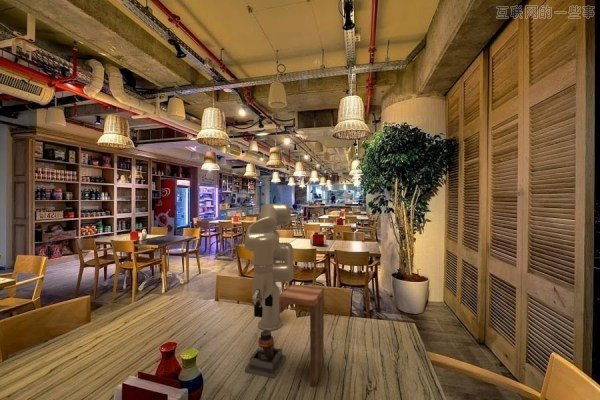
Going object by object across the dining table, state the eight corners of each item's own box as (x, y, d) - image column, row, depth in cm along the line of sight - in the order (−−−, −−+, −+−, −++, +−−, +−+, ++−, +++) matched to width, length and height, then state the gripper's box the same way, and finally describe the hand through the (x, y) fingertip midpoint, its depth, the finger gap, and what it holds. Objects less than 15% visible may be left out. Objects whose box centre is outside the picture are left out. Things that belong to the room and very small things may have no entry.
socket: (259, 354, 113) (259, 343, 113) (286, 359, 109) (286, 348, 109) (244, 371, 101) (244, 360, 101) (274, 378, 98) (274, 366, 98)
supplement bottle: (274, 356, 109) (274, 328, 108) (273, 365, 103) (273, 336, 102) (259, 356, 108) (259, 328, 108) (257, 366, 102) (257, 336, 102)
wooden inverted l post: (292, 357, 111) (292, 284, 110) (323, 363, 107) (323, 287, 106) (279, 379, 97) (279, 296, 97) (314, 387, 93) (314, 300, 93)
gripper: (263, 261, 115) (264, 301, 116) (244, 273, 99) (244, 319, 99) (280, 263, 113) (280, 303, 114) (262, 275, 97) (263, 322, 97)
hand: (263, 311), depth 106 cm, fingers open, 9 cm apart
